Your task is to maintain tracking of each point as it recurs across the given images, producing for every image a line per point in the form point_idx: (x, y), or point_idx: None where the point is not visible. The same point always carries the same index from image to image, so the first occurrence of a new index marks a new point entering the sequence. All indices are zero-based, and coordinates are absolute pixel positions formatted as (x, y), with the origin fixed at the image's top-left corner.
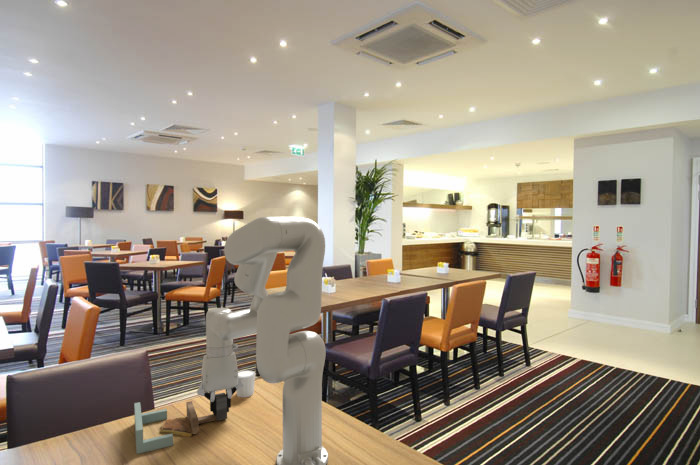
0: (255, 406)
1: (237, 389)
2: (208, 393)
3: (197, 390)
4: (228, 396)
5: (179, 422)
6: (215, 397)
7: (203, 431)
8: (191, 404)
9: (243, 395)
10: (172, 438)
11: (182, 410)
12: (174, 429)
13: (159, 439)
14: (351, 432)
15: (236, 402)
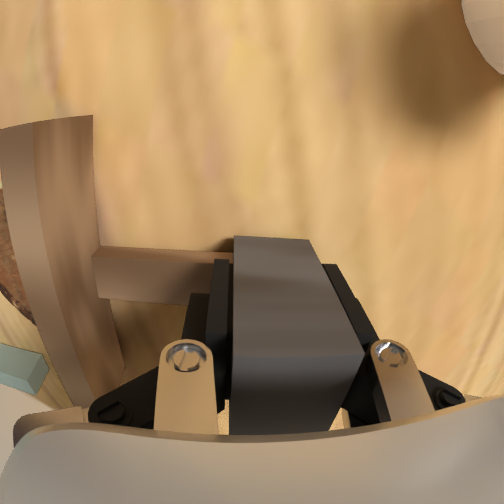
0: (480, 223)
1: (495, 15)
2: (148, 425)
3: (15, 443)
4: (349, 412)
5: None
6: (230, 406)
7: (150, 347)
8: (29, 210)
9: (493, 60)
10: (38, 388)
11: (63, 14)
12: (19, 305)
13: (3, 383)
14: None
15: (438, 90)
